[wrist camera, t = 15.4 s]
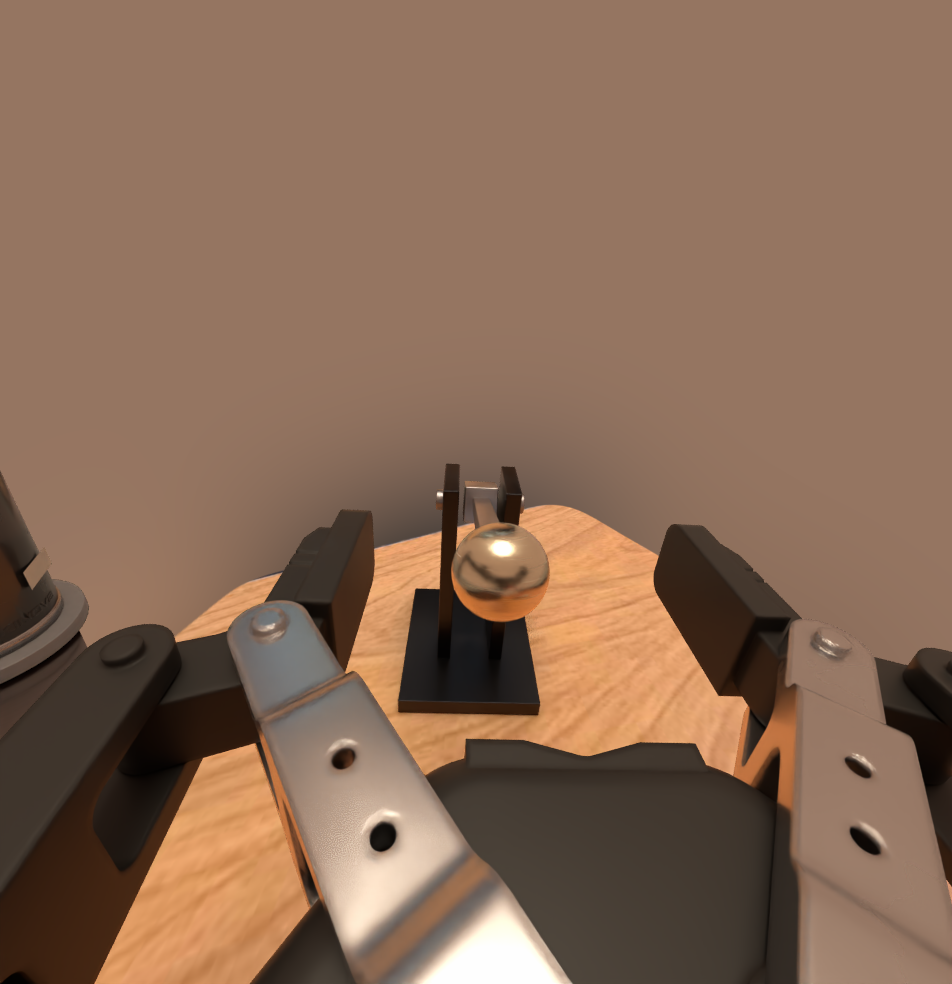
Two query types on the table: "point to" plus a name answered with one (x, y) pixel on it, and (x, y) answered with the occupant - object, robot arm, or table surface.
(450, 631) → the bracket
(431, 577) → the table surface
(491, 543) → the lever
